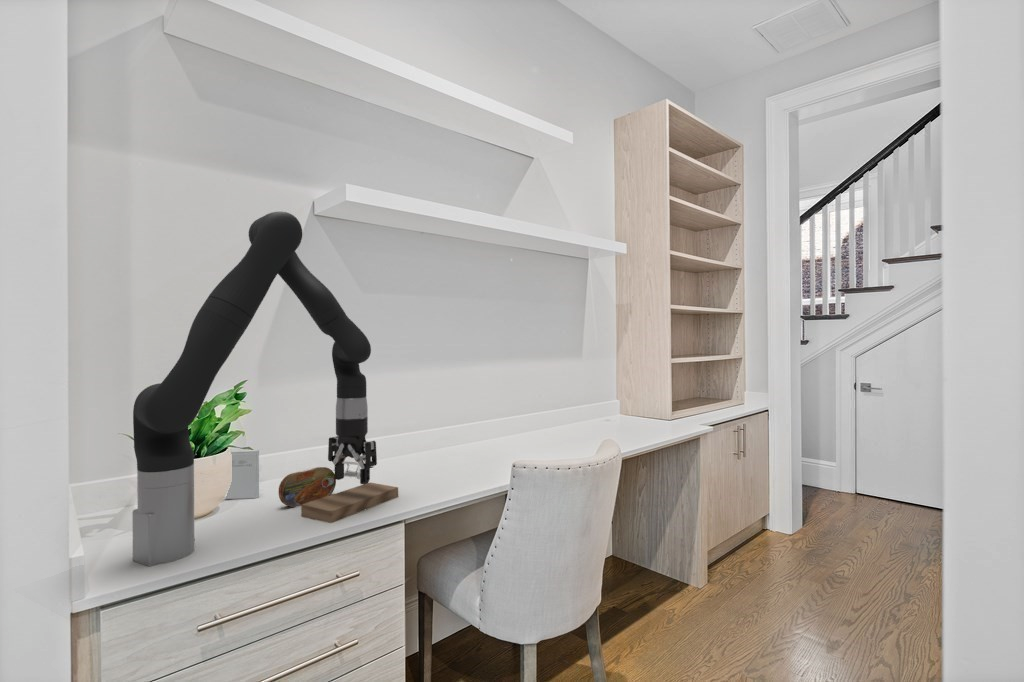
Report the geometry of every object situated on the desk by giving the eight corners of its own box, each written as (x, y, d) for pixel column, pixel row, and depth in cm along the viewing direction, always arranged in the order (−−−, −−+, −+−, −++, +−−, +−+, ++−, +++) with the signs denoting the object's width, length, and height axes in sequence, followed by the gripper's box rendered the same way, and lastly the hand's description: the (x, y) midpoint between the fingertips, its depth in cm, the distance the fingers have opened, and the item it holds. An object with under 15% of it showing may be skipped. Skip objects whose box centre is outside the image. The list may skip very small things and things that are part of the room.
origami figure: (326, 476, 161) (326, 460, 161) (349, 471, 168) (349, 455, 168) (351, 482, 154) (351, 465, 154) (374, 476, 161) (374, 460, 161)
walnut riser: (331, 524, 119) (331, 511, 119) (301, 517, 124) (301, 504, 123) (398, 498, 138) (398, 487, 138) (370, 493, 143) (369, 482, 143)
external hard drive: (227, 497, 140) (226, 450, 140) (259, 496, 141) (259, 449, 141) (224, 499, 138) (224, 451, 138) (257, 498, 139) (256, 451, 139)
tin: (283, 511, 128) (283, 476, 128) (276, 509, 130) (276, 474, 130) (336, 496, 140) (336, 464, 140) (329, 494, 142) (329, 463, 142)
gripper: (319, 415, 131) (319, 481, 131) (361, 419, 124) (361, 489, 124) (343, 412, 137) (343, 474, 137) (384, 415, 130) (384, 481, 130)
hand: (352, 481), depth 131 cm, fingers open, 8 cm apart
